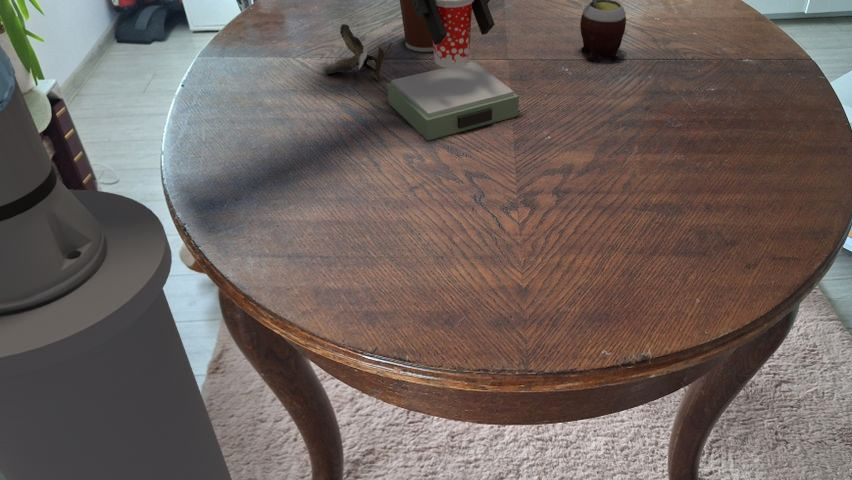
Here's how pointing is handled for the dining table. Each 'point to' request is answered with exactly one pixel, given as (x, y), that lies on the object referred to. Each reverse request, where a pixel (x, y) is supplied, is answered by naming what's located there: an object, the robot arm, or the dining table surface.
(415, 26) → the coffee cup
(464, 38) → the beverage cup
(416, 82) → the scale
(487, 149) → the dining table surface
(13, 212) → the robot arm
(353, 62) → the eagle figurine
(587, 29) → the mate gourd
